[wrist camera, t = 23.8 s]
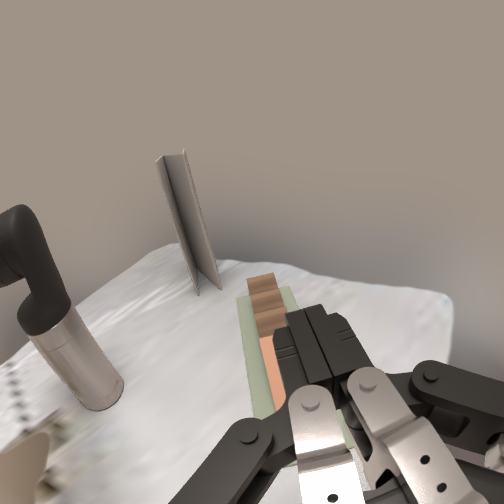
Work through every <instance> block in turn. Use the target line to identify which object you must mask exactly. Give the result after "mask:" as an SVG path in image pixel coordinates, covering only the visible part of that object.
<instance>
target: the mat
mask: <svg viewBox="0 0 504 504" xmlns="http://www.w3.org/2000/svg"><path fill="white" fill-rule="evenodd" d="M278 289H280V292H281V296H282V299H283V302H284V306H286V308H287V311H288V312H292V311H296V310H299V308H298V305H297V303H296V301H295V298H294V296H293V294H292V291H291V289H290V287H289V286H286V287H282V288H278ZM236 300H237V307H238V314H239V321H240V328H241V335H242V342H243V348H244V355H245V361H246V368H247V374H248V381H249V387H250V393H251V399H252V406H253V412H254V418H258V419H261V420H262V419H264V418H266V417H268V416H270V415H272V414H273V413H275V412H276V408H275V404H274V400H273V395H272V391H271V387H270V383H269V379H268V374H267V370H266V366H265V362H264V358H263V353H262V349H261V345H260V340H259V335H258V331H257V327H256V322H255V318H254V312H253V307H252V303H251V299H250V295H249V296H244V297H240V298H236ZM336 412H337V415H338V419H339V422H340V426H341V430H342V433H343V437H344V440H345V444H346V447H347V449H351V448H353V447H354V446H353V444H352V442H351V439H350V437H349V435H348V433H347V431H346V429H345V427H344V424H343V419H344V417H343V414H342V412H341V409H338V410H336ZM293 465H297V460H295V461H294V462H292V463H290V464H288V465H287V466H285V467H288V466H293ZM283 468H284V467H283Z"/></svg>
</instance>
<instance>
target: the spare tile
mask: <svg viewBox="0 0 504 504" xmlns="http://www.w3.org/2000/svg"><path fill="white" fill-rule="evenodd" d="M272 338H273V335H272V336H268V337H264V338H259V340H260V345H261V349H262V353H263V358H264V362H265V366H266V370H267V374H268V379H269V383H270V387H271V391H272V395H273V400H274V404H275V408H276V411H278V410H279V409H280V408H281V407H282V405H283V404H284V402H285V399H286V394H285V390H284V386H283V383H282V379H281V375H280V371H279V368H278V364H277V359H276V355H275V350H274V346H273V341H272Z"/></svg>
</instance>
